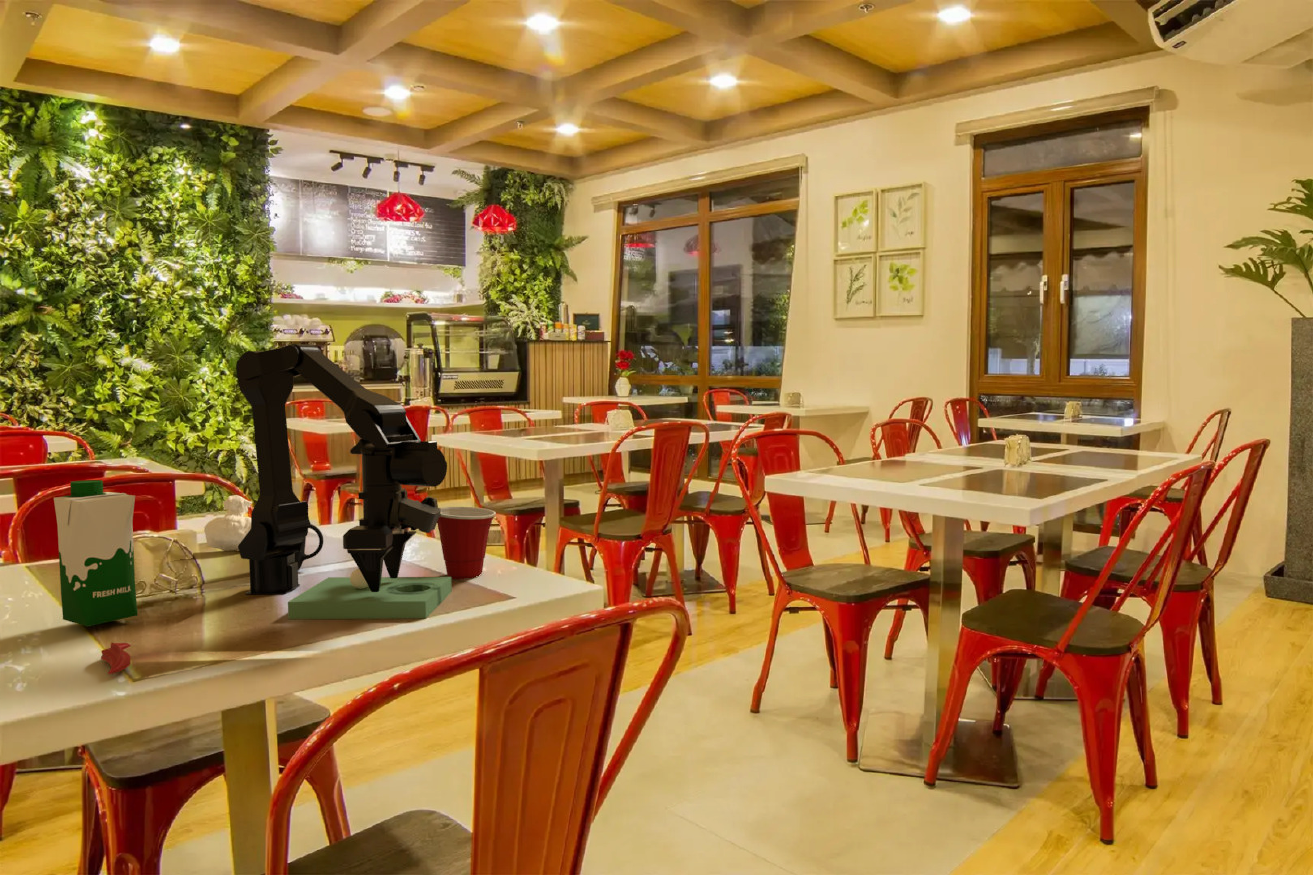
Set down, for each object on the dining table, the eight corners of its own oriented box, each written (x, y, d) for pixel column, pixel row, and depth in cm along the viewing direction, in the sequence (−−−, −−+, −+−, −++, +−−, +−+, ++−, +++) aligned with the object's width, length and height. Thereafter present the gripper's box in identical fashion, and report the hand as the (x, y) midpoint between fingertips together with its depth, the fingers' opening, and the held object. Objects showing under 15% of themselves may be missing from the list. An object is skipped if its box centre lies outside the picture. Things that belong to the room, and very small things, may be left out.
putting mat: (288, 618, 129) (287, 601, 129) (329, 592, 145) (328, 577, 145) (425, 618, 129) (425, 601, 129) (451, 591, 145) (451, 576, 145)
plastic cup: (491, 583, 151) (489, 513, 150) (427, 584, 151) (425, 514, 150) (502, 570, 162) (501, 504, 161) (442, 570, 162) (441, 504, 161)
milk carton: (115, 607, 136) (109, 477, 135) (147, 615, 132) (142, 480, 130) (52, 620, 129) (45, 483, 128) (84, 629, 124) (77, 487, 123)
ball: (347, 591, 135) (346, 570, 135) (354, 586, 139) (353, 565, 138) (368, 591, 135) (367, 570, 135) (374, 586, 139) (374, 565, 138)
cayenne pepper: (111, 647, 118) (110, 633, 117) (150, 644, 119) (149, 630, 119) (78, 676, 106) (77, 661, 106) (122, 673, 107) (121, 657, 107)
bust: (194, 554, 178) (192, 498, 177) (213, 547, 185) (211, 493, 185) (255, 553, 178) (253, 498, 177) (271, 546, 186) (269, 493, 185)
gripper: (418, 491, 127) (421, 599, 128) (449, 476, 145) (451, 571, 146) (340, 491, 127) (343, 599, 128) (381, 477, 145) (383, 571, 146)
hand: (385, 584), depth 137 cm, fingers open, 9 cm apart
